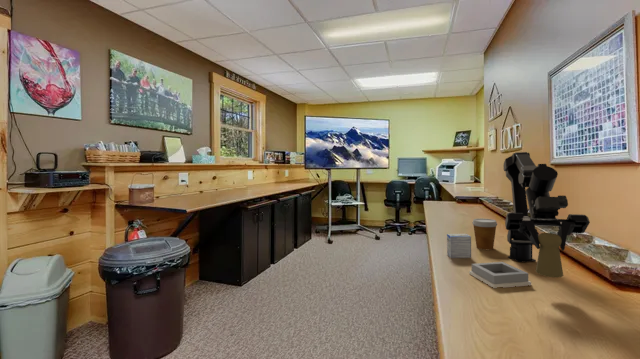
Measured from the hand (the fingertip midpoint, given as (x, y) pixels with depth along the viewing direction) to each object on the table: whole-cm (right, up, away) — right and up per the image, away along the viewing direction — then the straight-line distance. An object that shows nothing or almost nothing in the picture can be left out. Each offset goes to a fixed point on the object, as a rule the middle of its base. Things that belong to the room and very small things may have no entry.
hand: (550, 249), depth 81 cm
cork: (+1, -7, +2) cm, 7 cm away
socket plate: (-6, -13, +14) cm, 20 cm away
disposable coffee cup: (+9, -11, +49) cm, 51 cm away
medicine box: (-7, -12, +38) cm, 41 cm away
